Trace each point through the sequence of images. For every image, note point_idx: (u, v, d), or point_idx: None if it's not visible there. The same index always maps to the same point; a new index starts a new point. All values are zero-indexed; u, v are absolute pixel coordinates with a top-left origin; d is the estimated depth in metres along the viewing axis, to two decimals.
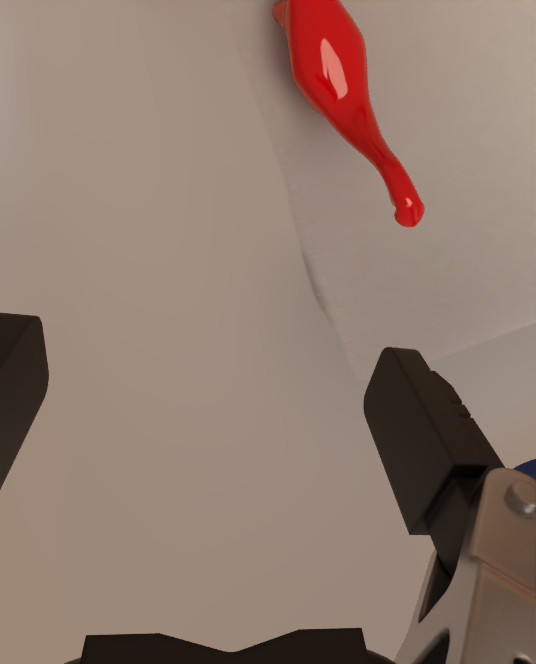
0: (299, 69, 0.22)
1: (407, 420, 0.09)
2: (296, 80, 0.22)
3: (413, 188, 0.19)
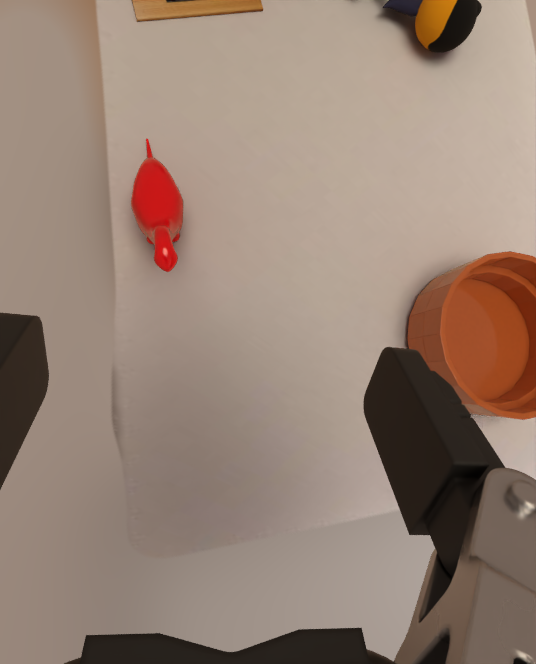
0: (133, 195, 0.32)
1: (407, 420, 0.09)
2: (131, 205, 0.33)
3: (169, 237, 0.26)
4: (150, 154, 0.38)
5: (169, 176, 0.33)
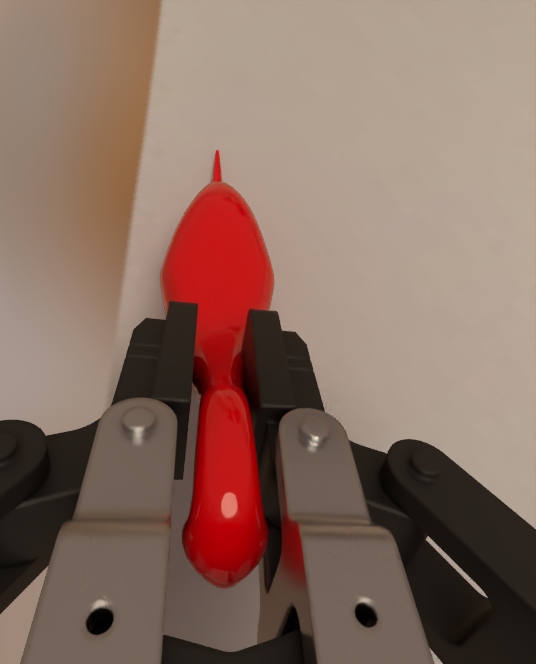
0: (168, 258, 0.14)
1: (250, 374, 0.10)
2: (160, 278, 0.14)
3: (252, 463, 0.07)
4: (218, 178, 0.20)
5: (255, 227, 0.14)
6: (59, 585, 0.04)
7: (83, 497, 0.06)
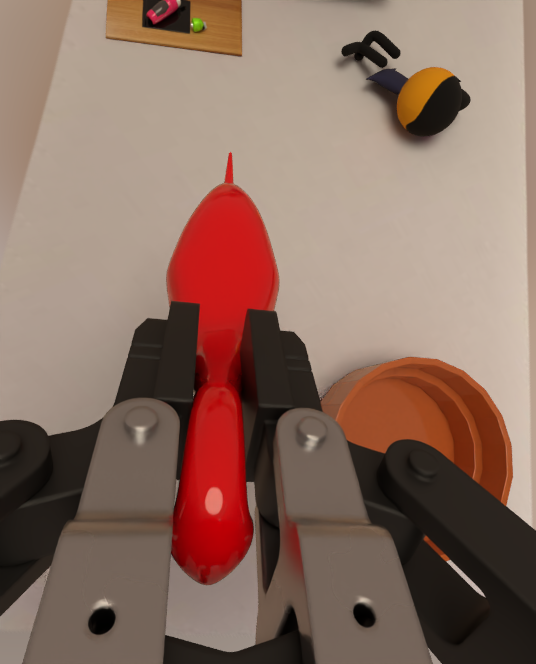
0: (174, 257, 0.14)
1: (248, 373, 0.10)
2: (167, 276, 0.14)
3: (239, 460, 0.07)
4: (230, 180, 0.20)
5: (262, 228, 0.15)
6: (61, 585, 0.04)
7: (85, 497, 0.06)
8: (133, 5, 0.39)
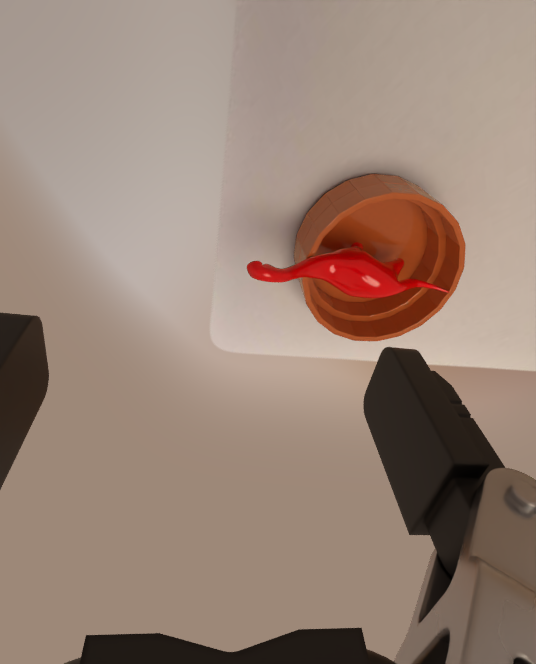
0: (365, 261, 0.35)
1: (407, 420, 0.09)
2: (362, 254, 0.35)
3: (266, 281, 0.32)
4: (429, 287, 0.39)
5: (367, 297, 0.36)
6: None
7: None
8: None
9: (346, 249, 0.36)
